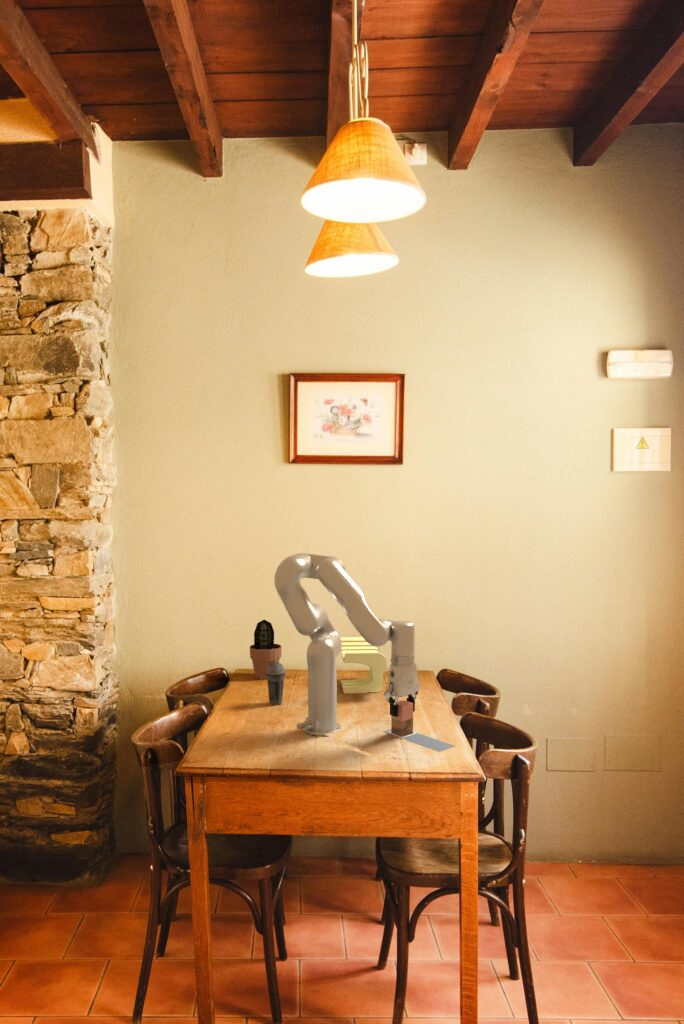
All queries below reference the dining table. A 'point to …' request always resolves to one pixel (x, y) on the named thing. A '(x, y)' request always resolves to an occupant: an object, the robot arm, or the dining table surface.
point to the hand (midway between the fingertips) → (402, 713)
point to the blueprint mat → (424, 741)
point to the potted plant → (264, 649)
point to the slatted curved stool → (367, 655)
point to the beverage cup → (275, 682)
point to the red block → (404, 710)
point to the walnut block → (401, 727)
